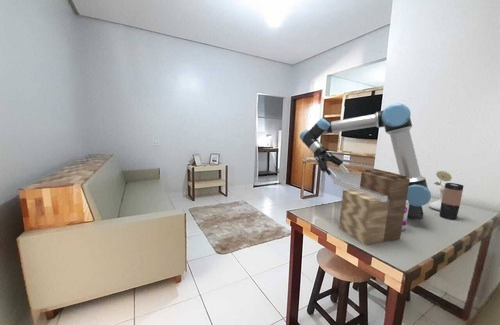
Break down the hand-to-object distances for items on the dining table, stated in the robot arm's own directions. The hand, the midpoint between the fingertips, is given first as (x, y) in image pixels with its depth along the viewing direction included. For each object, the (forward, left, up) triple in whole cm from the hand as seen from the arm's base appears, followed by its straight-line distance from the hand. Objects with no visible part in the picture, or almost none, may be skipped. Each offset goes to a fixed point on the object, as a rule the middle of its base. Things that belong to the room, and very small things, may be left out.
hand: (341, 175), depth 121 cm
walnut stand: (-7, +26, -22) cm, 35 cm away
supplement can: (-24, +17, -22) cm, 36 cm away
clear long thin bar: (0, +24, -2) cm, 24 cm away
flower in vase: (-68, -18, -22) cm, 73 cm away
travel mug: (-63, -4, -22) cm, 66 cm away
